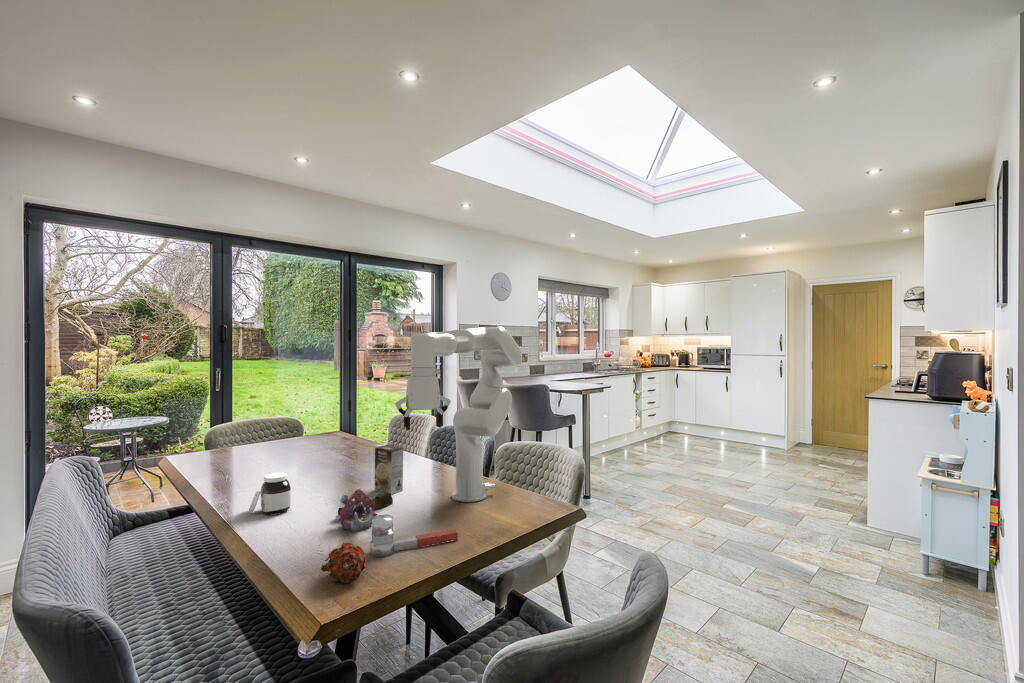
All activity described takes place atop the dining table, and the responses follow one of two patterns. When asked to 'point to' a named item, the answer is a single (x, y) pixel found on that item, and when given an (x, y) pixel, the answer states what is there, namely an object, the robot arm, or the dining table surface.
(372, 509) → the brake caliper
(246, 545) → the dining table surface
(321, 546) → the dining table surface
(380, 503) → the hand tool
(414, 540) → the ratchet
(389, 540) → the socket
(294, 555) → the dining table surface
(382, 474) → the coffee box
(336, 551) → the dragon fruit
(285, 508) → the spread jar
